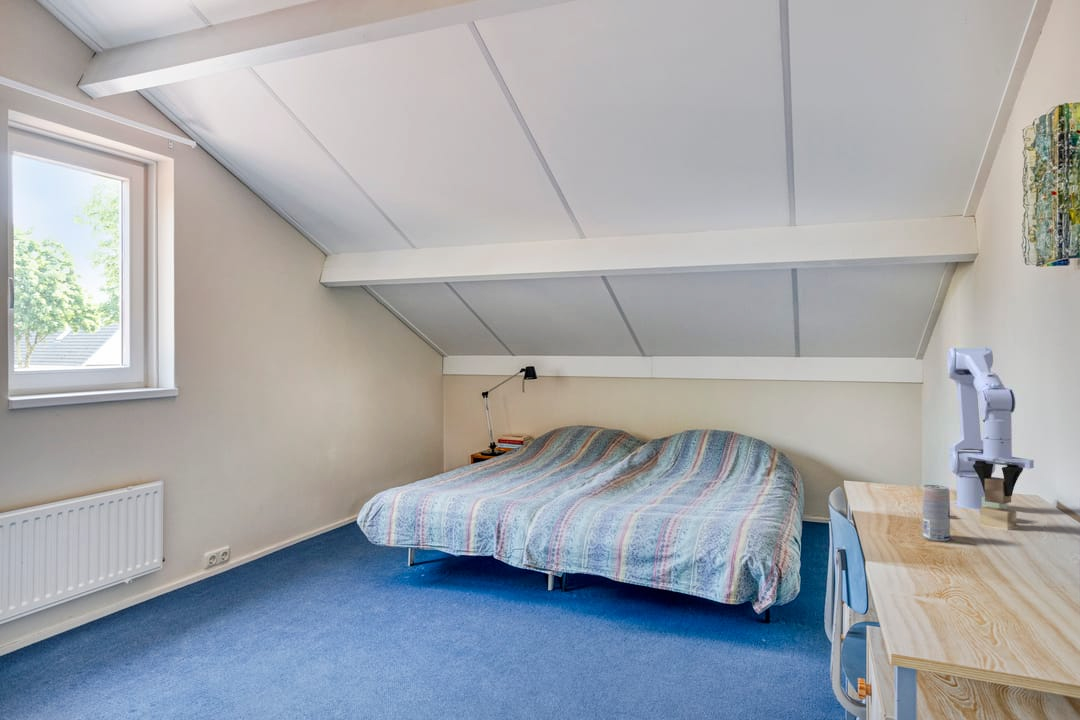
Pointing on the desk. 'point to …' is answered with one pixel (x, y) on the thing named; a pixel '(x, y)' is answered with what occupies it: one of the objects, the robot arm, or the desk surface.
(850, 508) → the desk surface
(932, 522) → the energy drink
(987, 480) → the walnut block
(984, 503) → the sage block
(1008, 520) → the base block
